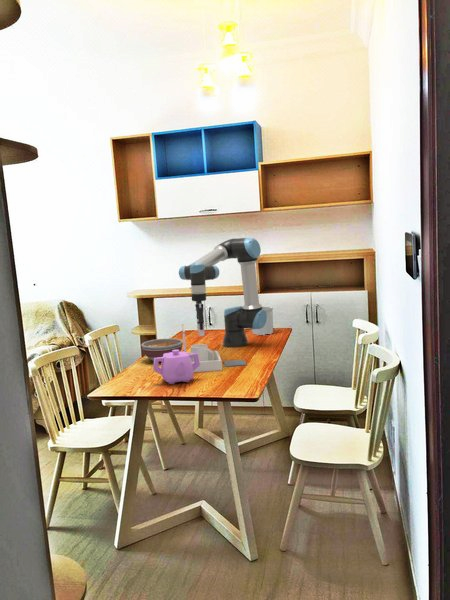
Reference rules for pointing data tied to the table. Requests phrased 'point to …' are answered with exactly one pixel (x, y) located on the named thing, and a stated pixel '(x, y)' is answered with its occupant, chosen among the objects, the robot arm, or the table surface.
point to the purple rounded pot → (176, 366)
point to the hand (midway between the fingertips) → (200, 333)
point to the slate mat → (234, 363)
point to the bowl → (160, 347)
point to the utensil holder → (269, 322)
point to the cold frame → (206, 365)
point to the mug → (201, 352)
